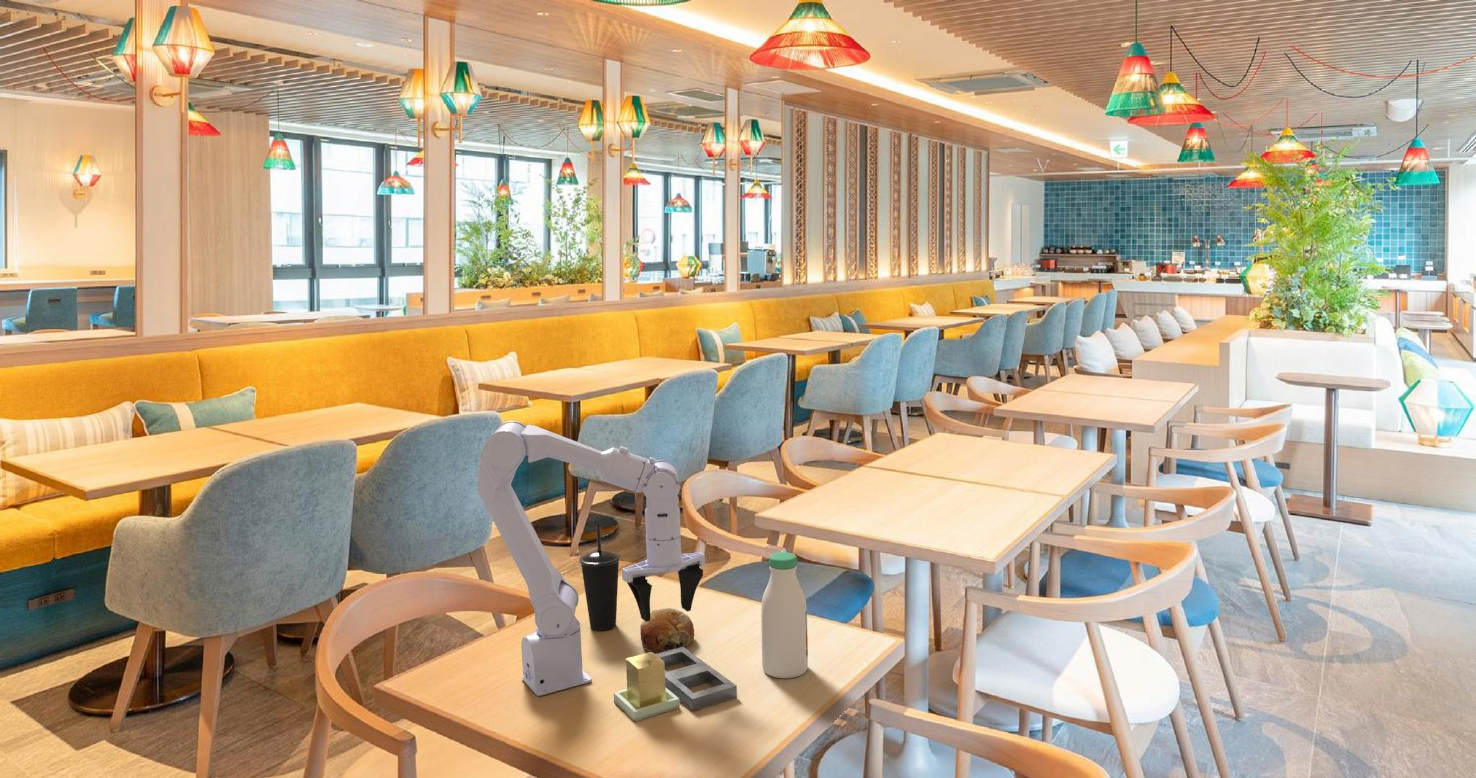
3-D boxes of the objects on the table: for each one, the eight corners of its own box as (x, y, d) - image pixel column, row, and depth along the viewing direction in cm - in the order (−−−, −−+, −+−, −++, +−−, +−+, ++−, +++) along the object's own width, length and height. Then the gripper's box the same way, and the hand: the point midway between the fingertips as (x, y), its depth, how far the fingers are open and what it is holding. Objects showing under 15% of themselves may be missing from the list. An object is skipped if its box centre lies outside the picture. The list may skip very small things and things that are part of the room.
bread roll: (697, 654, 176) (698, 610, 178) (689, 653, 166) (690, 606, 168) (644, 653, 177) (646, 609, 179) (633, 652, 167) (635, 605, 169)
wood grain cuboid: (639, 711, 146) (638, 668, 145) (627, 700, 150) (625, 658, 149) (666, 703, 148) (664, 661, 147) (653, 692, 152) (651, 651, 151)
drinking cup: (575, 632, 178) (570, 529, 175) (593, 616, 185) (588, 517, 182) (613, 636, 176) (608, 531, 173) (629, 620, 183) (625, 520, 180)
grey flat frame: (692, 711, 147) (692, 698, 146) (641, 668, 162) (641, 657, 162) (736, 697, 151) (736, 685, 151) (683, 657, 166) (682, 646, 166)
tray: (635, 721, 144) (634, 711, 144) (614, 701, 150) (613, 692, 150) (679, 707, 148) (679, 698, 148) (657, 688, 154) (657, 680, 154)
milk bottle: (804, 681, 156) (803, 564, 153) (758, 678, 157) (755, 562, 154) (810, 661, 163) (809, 549, 160) (766, 658, 165) (764, 547, 162)
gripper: (633, 550, 149) (637, 632, 151) (713, 533, 157) (715, 612, 159) (615, 538, 155) (618, 617, 157) (692, 523, 163) (695, 599, 165)
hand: (666, 614), depth 159 cm, fingers open, 7 cm apart
